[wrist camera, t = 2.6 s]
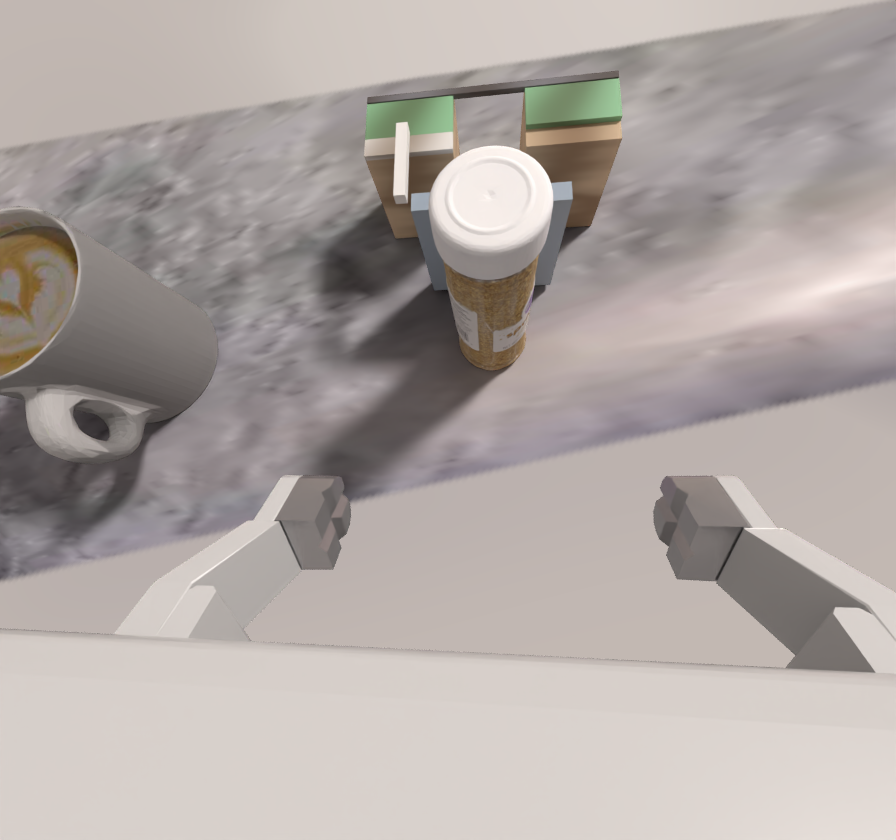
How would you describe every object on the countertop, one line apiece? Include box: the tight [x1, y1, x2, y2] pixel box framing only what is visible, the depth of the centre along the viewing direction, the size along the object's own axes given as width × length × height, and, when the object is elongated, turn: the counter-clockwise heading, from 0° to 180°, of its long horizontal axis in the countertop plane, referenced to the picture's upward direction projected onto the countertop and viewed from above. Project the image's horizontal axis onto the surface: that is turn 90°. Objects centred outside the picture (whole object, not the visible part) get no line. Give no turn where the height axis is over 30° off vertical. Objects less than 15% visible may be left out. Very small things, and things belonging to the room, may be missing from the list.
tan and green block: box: [364, 71, 622, 238], centre depth 25 cm, size 14×4×7 cm, turn 90°
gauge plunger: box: [393, 122, 573, 290], centre depth 24 cm, size 9×5×9 cm, turn 90°
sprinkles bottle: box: [428, 146, 553, 370], centre depth 21 cm, size 5×5×14 cm
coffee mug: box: [0, 206, 218, 464], centre depth 25 cm, size 13×10×10 cm
